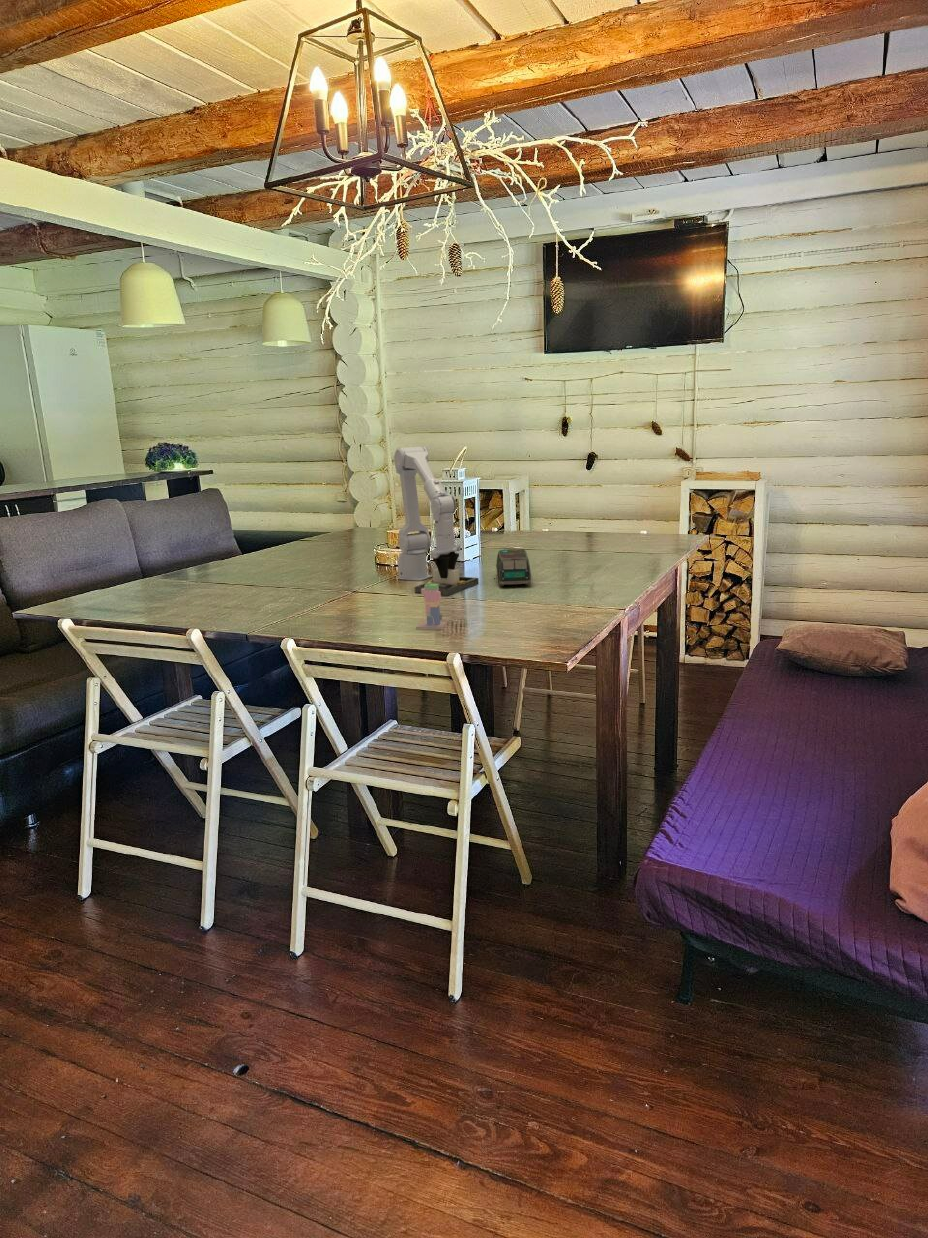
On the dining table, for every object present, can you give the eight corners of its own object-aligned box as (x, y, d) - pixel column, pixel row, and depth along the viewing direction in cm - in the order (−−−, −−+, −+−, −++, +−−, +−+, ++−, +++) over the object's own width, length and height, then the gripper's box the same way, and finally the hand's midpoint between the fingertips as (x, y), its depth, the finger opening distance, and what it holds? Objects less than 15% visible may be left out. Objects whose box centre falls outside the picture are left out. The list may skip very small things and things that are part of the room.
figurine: (446, 624, 225) (444, 579, 222) (441, 629, 220) (439, 584, 217) (421, 623, 227) (419, 579, 224) (416, 629, 221) (413, 584, 219)
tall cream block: (433, 585, 270) (432, 569, 269) (438, 583, 273) (437, 568, 272) (454, 587, 266) (453, 571, 265) (459, 585, 269) (458, 569, 268)
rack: (415, 593, 265) (414, 584, 264) (447, 581, 281) (447, 573, 280) (447, 596, 259) (446, 587, 258) (478, 583, 274) (478, 575, 274)
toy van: (527, 573, 290) (526, 544, 287) (532, 588, 266) (531, 556, 263) (496, 574, 290) (495, 545, 287) (498, 589, 266) (497, 558, 263)
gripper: (443, 538, 257) (445, 582, 261) (467, 531, 269) (469, 573, 273) (423, 537, 261) (426, 580, 264) (448, 530, 273) (450, 572, 276)
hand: (446, 577), depth 269 cm, fingers closed on tall cream block, 3 cm apart
